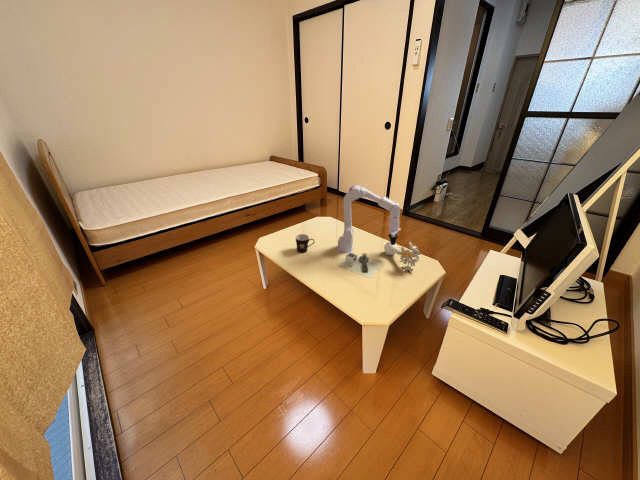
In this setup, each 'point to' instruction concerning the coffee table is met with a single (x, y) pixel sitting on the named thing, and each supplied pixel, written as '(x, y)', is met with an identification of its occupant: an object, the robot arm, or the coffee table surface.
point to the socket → (351, 259)
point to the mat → (357, 268)
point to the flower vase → (403, 253)
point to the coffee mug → (302, 243)
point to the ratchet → (364, 262)
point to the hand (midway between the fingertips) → (393, 241)
